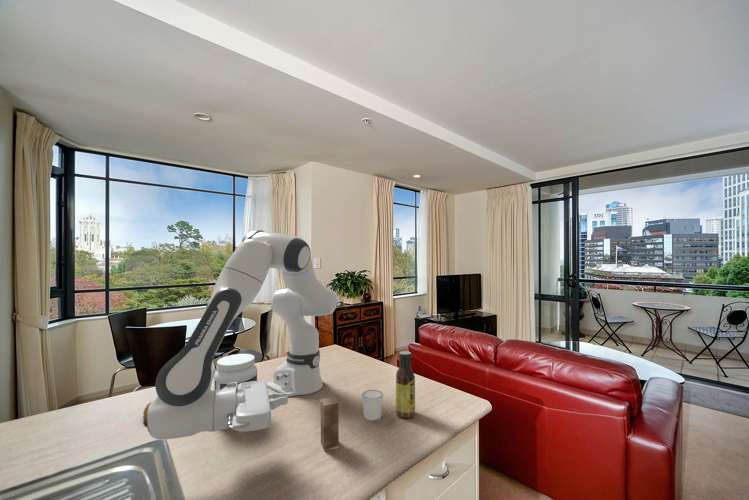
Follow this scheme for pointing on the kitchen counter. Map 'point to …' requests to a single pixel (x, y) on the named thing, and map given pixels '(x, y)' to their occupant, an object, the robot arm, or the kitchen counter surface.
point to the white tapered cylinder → (372, 404)
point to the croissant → (146, 413)
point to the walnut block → (329, 423)
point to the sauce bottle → (405, 387)
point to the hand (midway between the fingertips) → (287, 398)
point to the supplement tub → (235, 370)
